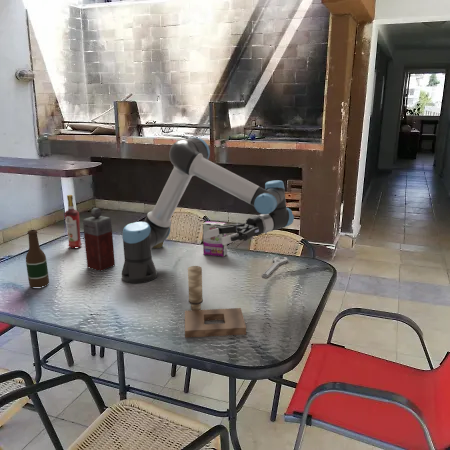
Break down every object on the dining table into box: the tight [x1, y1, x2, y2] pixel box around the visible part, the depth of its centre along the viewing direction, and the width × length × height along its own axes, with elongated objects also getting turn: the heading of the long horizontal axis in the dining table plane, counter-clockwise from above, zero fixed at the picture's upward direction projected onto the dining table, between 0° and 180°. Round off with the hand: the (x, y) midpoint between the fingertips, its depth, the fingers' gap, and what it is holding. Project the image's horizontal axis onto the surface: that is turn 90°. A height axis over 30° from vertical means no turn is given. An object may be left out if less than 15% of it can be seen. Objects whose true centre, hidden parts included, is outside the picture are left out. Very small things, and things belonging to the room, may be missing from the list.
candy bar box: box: [202, 221, 228, 258], centre depth 214 cm, size 11×5×16 cm, turn 69°
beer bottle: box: [25, 229, 50, 288], centre depth 178 cm, size 8×8×24 cm
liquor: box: [63, 194, 83, 249], centre depth 225 cm, size 7×7×28 cm
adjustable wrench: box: [261, 256, 289, 279], centre depth 199 cm, size 25×6×2 cm, turn 149°
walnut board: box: [184, 307, 247, 338], centre depth 148 cm, size 20×14×2 cm
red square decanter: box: [82, 207, 116, 272], centre depth 198 cm, size 9×11×28 cm
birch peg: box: [187, 265, 204, 310], centre depth 158 cm, size 5×5×16 cm
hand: (212, 238), depth 159 cm, fingers open, 13 cm apart
